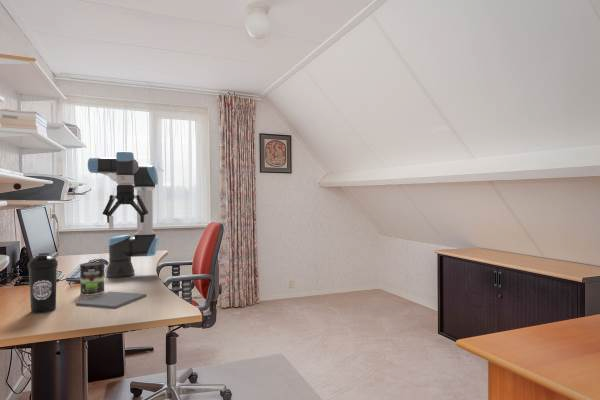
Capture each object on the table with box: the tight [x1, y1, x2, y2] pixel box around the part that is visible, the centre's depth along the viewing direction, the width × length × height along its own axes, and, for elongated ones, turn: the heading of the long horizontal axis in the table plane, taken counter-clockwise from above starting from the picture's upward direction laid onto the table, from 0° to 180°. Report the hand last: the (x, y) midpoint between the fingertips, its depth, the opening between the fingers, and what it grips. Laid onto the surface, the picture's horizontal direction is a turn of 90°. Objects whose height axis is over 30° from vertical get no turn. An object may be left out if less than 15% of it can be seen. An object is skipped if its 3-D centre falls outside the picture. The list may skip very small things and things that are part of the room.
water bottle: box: [27, 252, 59, 314], centre depth 158 cm, size 10×10×23 cm
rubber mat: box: [75, 291, 147, 309], centre depth 172 cm, size 20×20×1 cm
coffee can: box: [79, 261, 105, 297], centre depth 186 cm, size 10×10×14 cm
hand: (125, 229), depth 182 cm, fingers open, 13 cm apart
